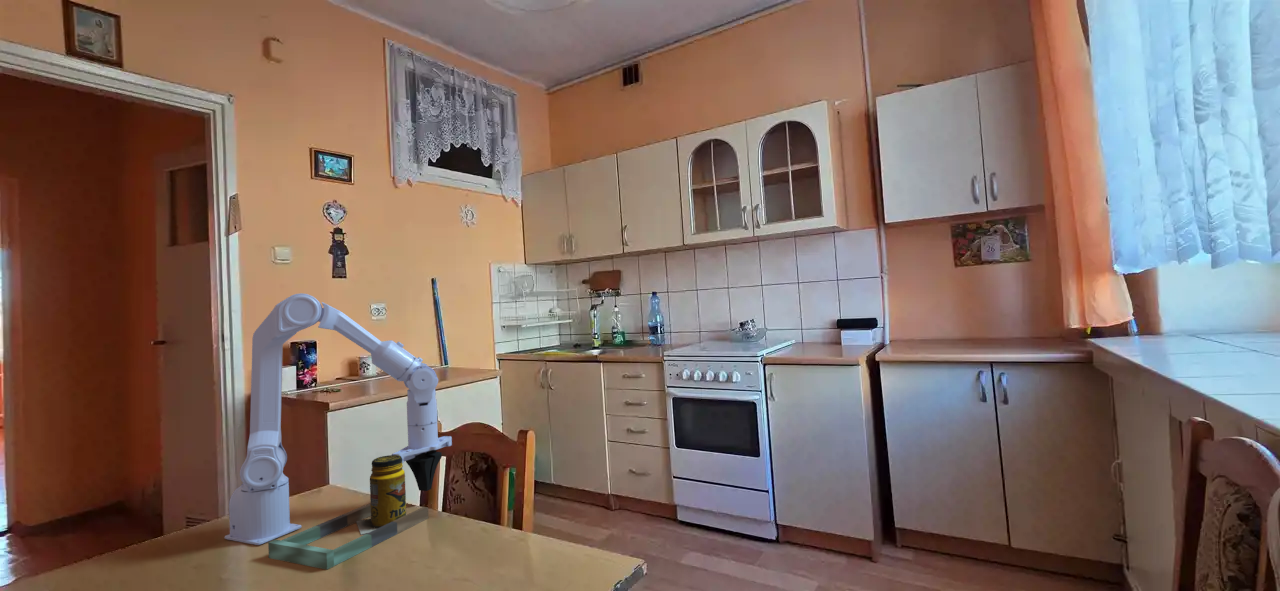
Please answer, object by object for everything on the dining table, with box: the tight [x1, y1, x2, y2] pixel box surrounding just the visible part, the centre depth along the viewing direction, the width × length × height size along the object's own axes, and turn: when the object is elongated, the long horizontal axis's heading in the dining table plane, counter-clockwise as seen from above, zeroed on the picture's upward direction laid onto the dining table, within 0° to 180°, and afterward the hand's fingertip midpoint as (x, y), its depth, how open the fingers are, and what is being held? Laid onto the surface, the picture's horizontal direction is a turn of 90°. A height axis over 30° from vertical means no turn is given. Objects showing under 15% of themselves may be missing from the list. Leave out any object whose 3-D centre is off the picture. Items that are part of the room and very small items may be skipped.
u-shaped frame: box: [267, 503, 430, 571], centre depth 97 cm, size 13×21×2 cm, turn 158°
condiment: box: [356, 454, 407, 536], centre depth 103 cm, size 7×8×12 cm
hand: (425, 489), depth 113 cm, fingers closed
